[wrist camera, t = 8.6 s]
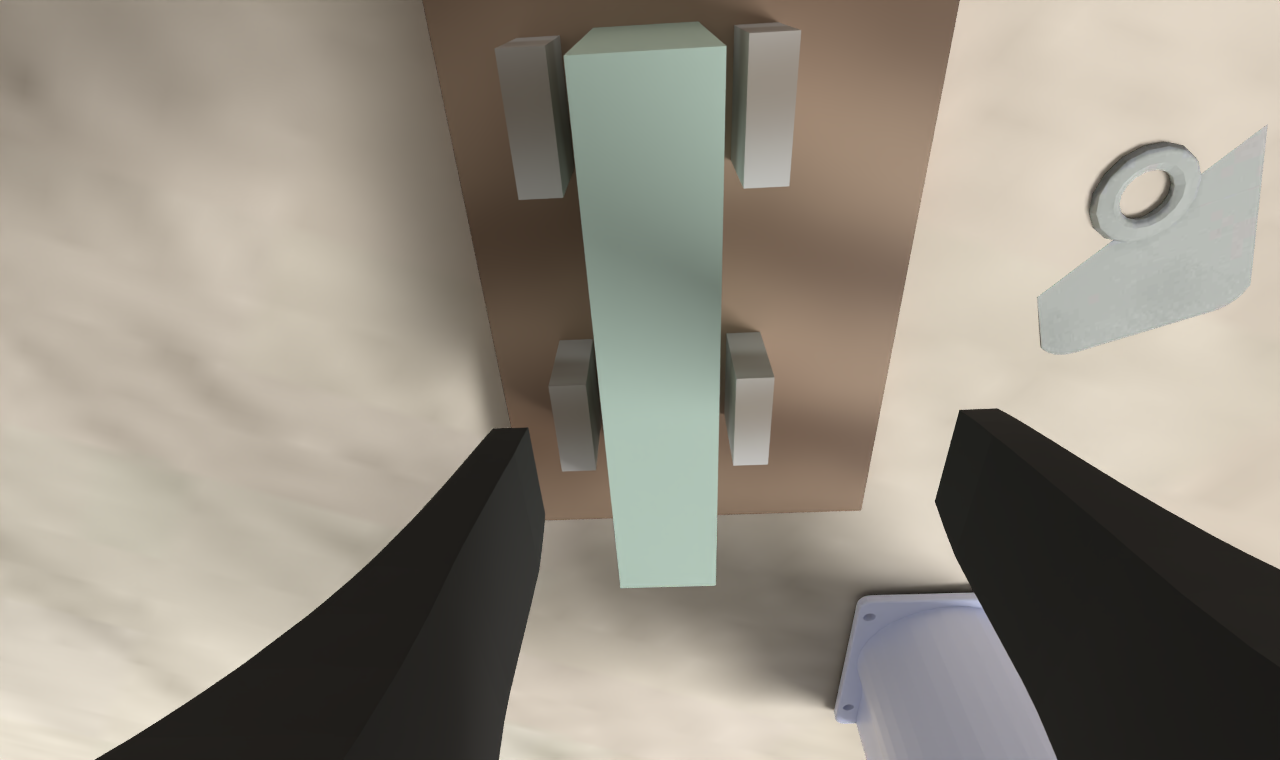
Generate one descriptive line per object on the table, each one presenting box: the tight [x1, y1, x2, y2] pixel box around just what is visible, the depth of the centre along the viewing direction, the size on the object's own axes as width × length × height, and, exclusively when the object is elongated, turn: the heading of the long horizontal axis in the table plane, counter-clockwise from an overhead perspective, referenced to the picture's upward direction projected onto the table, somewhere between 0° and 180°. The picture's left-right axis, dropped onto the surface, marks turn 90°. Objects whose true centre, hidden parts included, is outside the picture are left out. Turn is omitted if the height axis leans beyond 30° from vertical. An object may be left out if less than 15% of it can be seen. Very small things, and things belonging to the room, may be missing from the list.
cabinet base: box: [422, 0, 960, 520], centre depth 17 cm, size 20×12×4 cm, turn 3°
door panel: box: [564, 21, 726, 588], centre depth 15 cm, size 12×2×6 cm, turn 3°
